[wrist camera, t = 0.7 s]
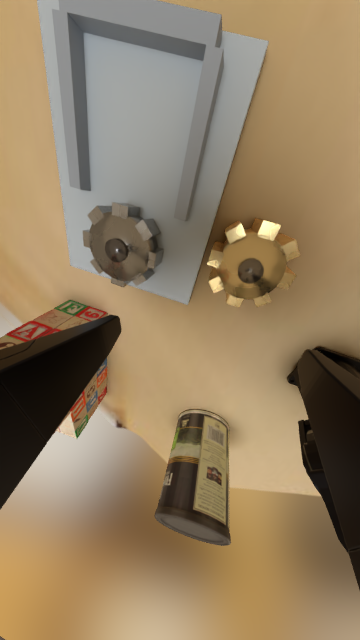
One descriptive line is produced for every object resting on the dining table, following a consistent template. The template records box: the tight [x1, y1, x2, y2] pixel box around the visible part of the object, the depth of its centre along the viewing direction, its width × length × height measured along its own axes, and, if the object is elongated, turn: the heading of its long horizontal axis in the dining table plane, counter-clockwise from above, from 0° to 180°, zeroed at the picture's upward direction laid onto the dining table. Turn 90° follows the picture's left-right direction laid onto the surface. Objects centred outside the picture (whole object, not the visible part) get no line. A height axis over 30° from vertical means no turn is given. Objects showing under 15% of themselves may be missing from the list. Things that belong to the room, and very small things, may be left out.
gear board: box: [37, 0, 269, 305], centre depth 15 cm, size 15×18×3 cm
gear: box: [83, 202, 164, 287], centre depth 17 cm, size 7×7×3 cm
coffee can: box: [155, 410, 231, 546], centre depth 29 cm, size 10×10×14 cm
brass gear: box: [207, 218, 300, 307], centre depth 15 cm, size 7×7×5 cm
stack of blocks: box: [0, 300, 107, 439], centre depth 26 cm, size 21×6×12 cm, turn 166°
